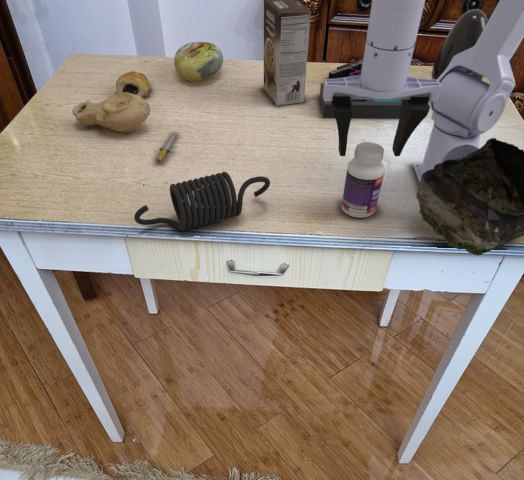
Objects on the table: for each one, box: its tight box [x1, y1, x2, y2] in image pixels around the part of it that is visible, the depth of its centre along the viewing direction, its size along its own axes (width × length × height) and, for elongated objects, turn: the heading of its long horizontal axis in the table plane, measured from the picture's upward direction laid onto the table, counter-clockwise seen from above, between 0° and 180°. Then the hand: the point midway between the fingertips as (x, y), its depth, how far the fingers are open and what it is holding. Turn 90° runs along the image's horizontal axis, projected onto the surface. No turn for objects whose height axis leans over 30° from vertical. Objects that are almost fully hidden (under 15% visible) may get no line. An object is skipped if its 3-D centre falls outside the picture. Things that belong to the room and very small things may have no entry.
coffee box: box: [263, 0, 312, 107], centre depth 92 cm, size 9×6×16 cm
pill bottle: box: [341, 141, 386, 219], centre depth 68 cm, size 5×5×10 cm
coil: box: [133, 171, 271, 232], centre depth 67 cm, size 7×20×9 cm
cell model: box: [173, 41, 224, 82], centre depth 103 cm, size 11×8×15 cm
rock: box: [415, 137, 524, 257], centre depth 65 cm, size 18×20×10 cm
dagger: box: [156, 134, 176, 163], centre depth 83 cm, size 11×1×2 cm
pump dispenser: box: [430, 8, 489, 81], centre depth 92 cm, size 10×10×15 cm
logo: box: [328, 59, 363, 79], centre depth 103 cm, size 13×2×10 cm
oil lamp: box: [71, 92, 151, 134], centre depth 86 cm, size 11×14×5 cm
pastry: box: [115, 70, 150, 98], centre depth 97 cm, size 9×7×4 cm
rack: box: [319, 82, 402, 119], centre depth 94 cm, size 10×18×2 cm, turn 89°
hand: (368, 152), depth 65 cm, fingers open, 7 cm apart
